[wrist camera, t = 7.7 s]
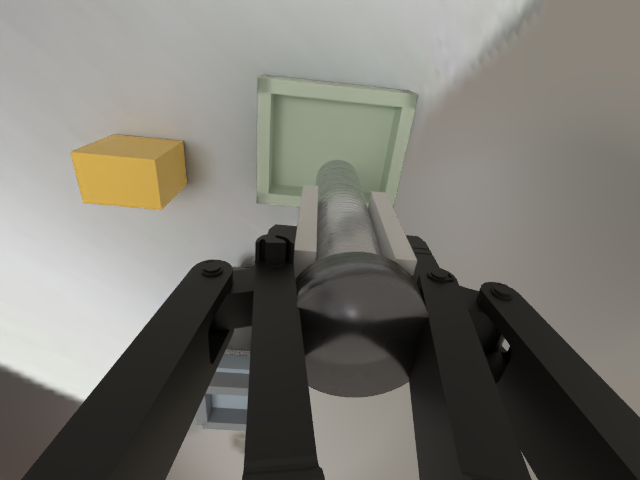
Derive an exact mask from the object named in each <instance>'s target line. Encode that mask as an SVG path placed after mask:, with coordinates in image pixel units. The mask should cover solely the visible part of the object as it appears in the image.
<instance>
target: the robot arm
mask: <svg viewBox="0 0 640 480" xmlns="http://www.w3.org/2000/svg"><path fill="white" fill-rule="evenodd" d="M317 209H318V186H311V185H303V190H302V197H301V204H300V211H299V218H298V225H297V226H287V225H274V226H273V227H272V228H270V229H269V232H268V234H267V235H263V236H261V237H259V238H258V239H257V241H256V256H255V266H253V267H250V268H247V269H243V270H235V271H233V268H232V266H231V265H230V264H229V263H227V262H225V261H221V260H206V261H203V262H200V263H198V264H196V265H195V266H194V267H193V268H192V269H191V270H190V271H189V273H188V274H187V275H186V276H185V277H184V279H183V280H182V281H181V282H180V284H179V285H178V286H177V287H176V289H175V290H174V291H173V292H172V294H171V295H170V296H169V297H168V299H167V300H166V301H165V302H164V303H163V305H162V306H161V307H160V308H159V310H158V311H157V312H156V313H155V315H154V316H153V317H152V318H151V320H150V321H149V322H148V323H147V325H146V326H145V327H144V328H143V329H142V331H141V332H140V333H139V334H138V336H137V337H136V338H135V339H134V341H133V342H132V343H131V344H130V346H129V347H128V348H127V349H126V350H125V352H124V353H123V354H122V355H121V357H120V358H119V359H118V360H117V362H116V363H115V364H114V365H113V367H112V368H111V369H110V370H109V372H108V373H107V374H106V375H105V376H104V378H103V379H102V380H101V381H100V383H99V384H98V385H97V386H96V388H95V389H94V390H93V391H92V393H91V394H90V395H89V396H88V398H87V399H86V400H85V401H84V402H83V404H82V405H81V406H80V407H79V409H78V410H77V411H76V412H75V414H74V415H73V416H72V417H71V419H70V420H69V421H68V422H67V423H66V425H65V426H64V427H63V428H62V430H61V431H60V432H59V433H58V435H57V436H56V437H55V438H54V440H53V441H52V442H51V443H50V445H49V446H48V447H47V449H46V450H45V451H44V452H43V453H42V454H41V456H40V457H39V459H38V460H37V461H36V462H35V463H34V464H33V466H32V467H31V468H30V469H29V471H28V472H27V473H26V474H25V476H24V477H23V478H22V479H21V480H165V479H166V477H167V475H168V473H169V471H170V468H171V466H172V464H173V462H174V460H175V458H176V456H177V453H178V451H179V449H180V447H181V445H182V442H183V441H184V438H185V436H186V434H187V432H188V430H189V428H190V426H191V423H192V421H193V419H194V417H195V415H196V413H197V411H198V408H199V406H200V404H201V402H202V400H203V398H204V395H205V393H206V391H207V389H208V387H209V385H210V383H211V380H212V378H213V376H214V374H215V372H216V370H217V368H218V365H219V363H220V361H221V359H222V357H223V355H224V353H225V350H226V348H227V346H228V344H229V342H230V340H231V337H232V335H233V333H234V329H237V328H243V327H249V326H252V333H251V351H250V368H249V386H248V404H247V422H246V439H245V457H244V472H243V476H242V480H325V478H324V474H323V470H322V468H320V467H319V465H318V460H317V454H316V445H315V438H314V430H313V421H312V413H311V404H310V396H309V388H308V379H307V371H306V363H305V354H304V346H303V338H302V330H301V321H300V313H299V308H297V301H298V296H297V288H296V280H295V279H296V278H297V276H298V275H299V274H300V273H301V272H302V271H303V270H305V269H306V268H307V267H308V266H310V265H311V264H313V263H315V260H316V246H317ZM368 211H369V214H370V217H371V221H372V224H373V227H374V231H375V234H376V237H377V241H378V244H379V247H380V251H381V254H382V256H384V257H386V258H389V259H391V260H393V261H395V262H396V263H398V264H399V265H401V266H402V267H403V268H405V269H406V270H407V271H408V272H409V273H410V274H411V276H412V277H413V279H414V280H415V282H416V284H417V286H418V288H419V291H420V293H421V295H422V298H423V300H424V303H425V306H426V308H427V311H428V313H429V316H430V318H428V321H427V324H426V327H425V330H424V333H423V336H422V340H421V343H420V346H419V349H418V352H417V355H416V358H415V361H414V364H413V367H412V370H411V374H410V377H409V384H410V392H411V403H412V412H413V421H414V430H415V440H416V450H417V459H418V468H419V478H420V480H532V479H531V477H530V475H529V472H528V469H527V466H526V464H525V461H524V458H523V456H522V453H523V455H524V457H525V458H526V460H527V462H528V463H529V465H530V467H531V468H532V470H533V472H534V473H535V475H536V477H537V478H538V480H640V417H639V416H638V415H637V414H636V413H635V412H634V411H633V410H632V409H631V408H630V407H629V406H628V405H627V404H626V403H625V402H624V401H623V400H622V399H621V398H620V397H619V396H618V395H617V394H616V393H615V392H614V391H613V390H612V389H611V388H610V387H609V385H608V384H606V382H605V381H604V380H603V379H602V378H601V377H600V376H599V375H598V374H597V373H596V372H595V371H594V370H593V369H592V368H591V367H590V366H589V365H588V364H587V363H586V362H585V361H584V360H583V359H582V358H581V357H580V356H579V355H578V354H577V353H576V352H575V351H574V350H573V349H572V348H571V346H570V345H569V344H568V343H566V341H565V340H564V339H563V338H562V337H561V336H560V335H559V334H558V333H557V332H556V331H555V330H554V329H553V328H552V327H551V326H550V325H549V324H548V323H547V322H546V321H545V320H544V319H543V318H542V317H541V316H540V315H539V314H538V313H537V312H536V311H535V309H534V308H533V307H532V306H530V304H529V303H528V302H527V301H526V300H525V299H524V298H523V297H522V296H521V295H520V294H519V293H518V292H516V291H515V290H514V289H512V288H510V287H508V286H507V285H505V284H501V283H495V282H487V283H484V284H483V285H481V288H480V291H476V290H472V289H468V288H465V287H462V286H459V284H458V281H457V279H456V278H455V276H454V275H452V274H451V273H449V272H448V271H446V270H444V269H441V268H439V266H438V264H437V262H436V260H435V259H434V257H433V255H432V253H431V251H430V250H429V248H428V246H427V244H426V242H424V241H423V240H422V239H421V238H419V237H418V236H408V235H405V233H404V231H403V229H402V227H401V224H400V222H399V220H398V218H397V216H396V214H395V211H394V209H393V207H392V205H391V203H390V201H389V198H388V196H387V194H386V193H385V192H374V191H371V195H370V200H369V206H368ZM504 339H506V340H507V342H508V343H509V345H510V348H509V350H508V351H506V350H505V349H504V348H503V347H502V343H503V341H504ZM521 452H522V453H521Z"/></svg>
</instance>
